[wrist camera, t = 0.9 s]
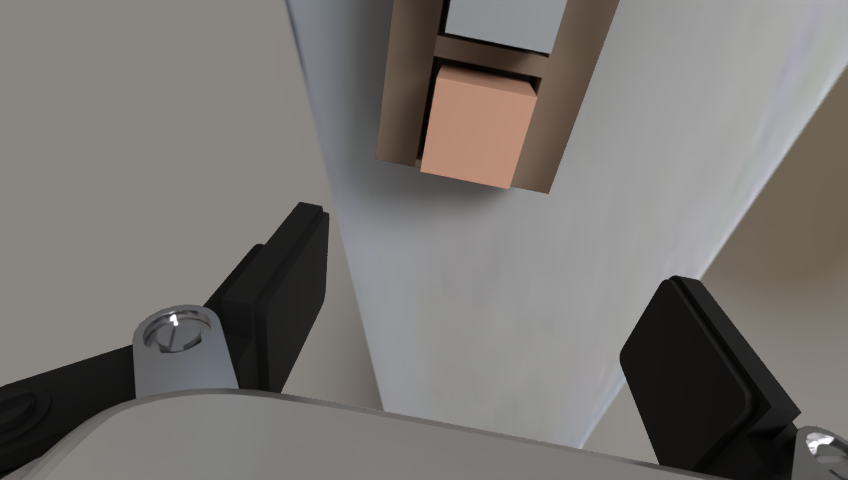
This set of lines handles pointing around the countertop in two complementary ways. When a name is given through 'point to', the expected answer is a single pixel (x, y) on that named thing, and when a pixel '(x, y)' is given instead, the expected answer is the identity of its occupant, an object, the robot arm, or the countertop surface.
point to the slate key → (508, 21)
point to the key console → (547, 73)
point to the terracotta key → (477, 126)
